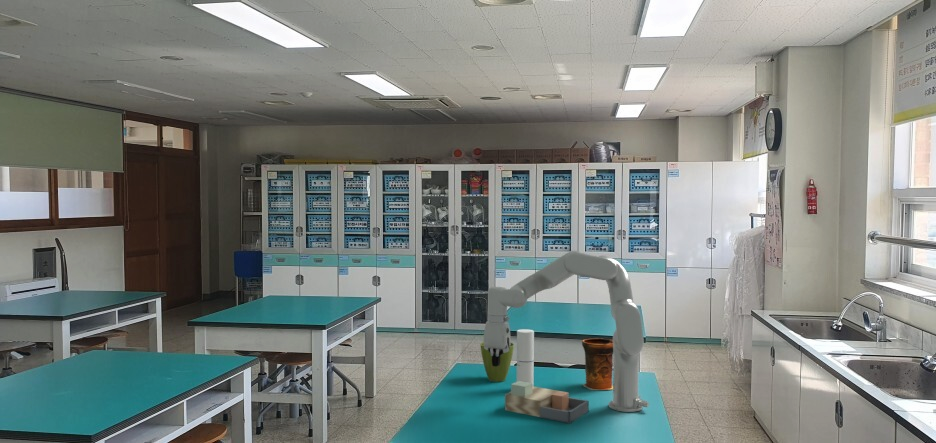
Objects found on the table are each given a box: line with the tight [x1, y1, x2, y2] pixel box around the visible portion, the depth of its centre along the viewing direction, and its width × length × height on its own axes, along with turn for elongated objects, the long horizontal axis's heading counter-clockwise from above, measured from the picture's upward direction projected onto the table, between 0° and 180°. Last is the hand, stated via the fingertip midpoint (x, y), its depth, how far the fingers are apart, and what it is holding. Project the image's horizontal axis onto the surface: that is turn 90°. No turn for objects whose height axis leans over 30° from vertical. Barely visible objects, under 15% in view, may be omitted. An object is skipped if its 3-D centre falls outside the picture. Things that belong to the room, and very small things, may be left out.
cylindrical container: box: [516, 328, 535, 387], centre depth 282 cm, size 7×7×25 cm
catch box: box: [539, 397, 590, 424], centre depth 249 cm, size 12×17×4 cm
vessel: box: [581, 337, 614, 391], centre depth 287 cm, size 14×14×20 cm
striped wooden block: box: [504, 386, 559, 418], centre depth 257 cm, size 15×16×6 cm
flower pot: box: [479, 341, 515, 383], centre depth 298 cm, size 15×15×16 cm
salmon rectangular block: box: [552, 390, 570, 411], centre depth 254 cm, size 6×6×4 cm
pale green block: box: [510, 380, 533, 397], centre depth 254 cm, size 6×6×4 cm
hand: (495, 365), depth 260 cm, fingers closed
